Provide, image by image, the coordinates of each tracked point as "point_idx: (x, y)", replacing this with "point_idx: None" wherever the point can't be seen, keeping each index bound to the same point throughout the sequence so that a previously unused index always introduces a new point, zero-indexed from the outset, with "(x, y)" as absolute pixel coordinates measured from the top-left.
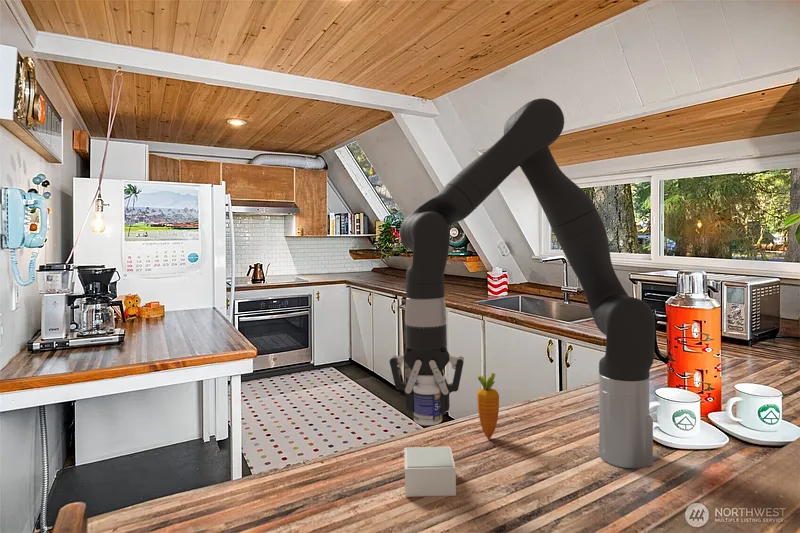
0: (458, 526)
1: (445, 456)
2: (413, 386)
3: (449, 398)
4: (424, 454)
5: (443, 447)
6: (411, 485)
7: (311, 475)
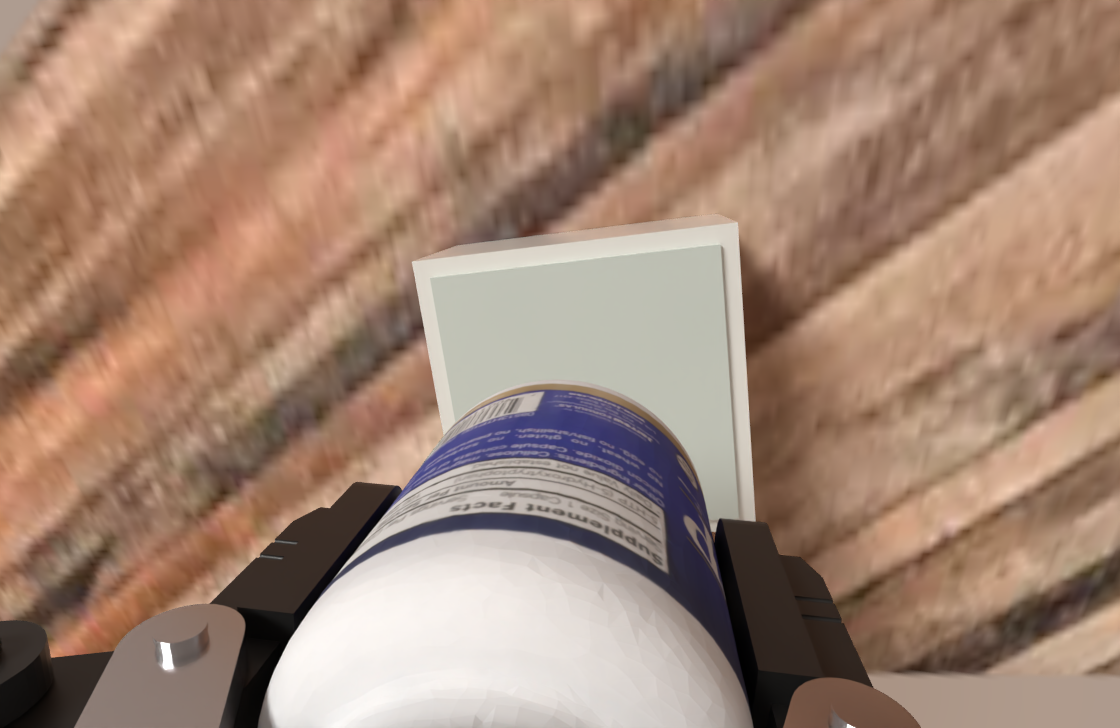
0: None
1: (698, 399)
2: (240, 693)
3: (852, 648)
4: (559, 378)
5: (686, 260)
6: None
7: (13, 304)
